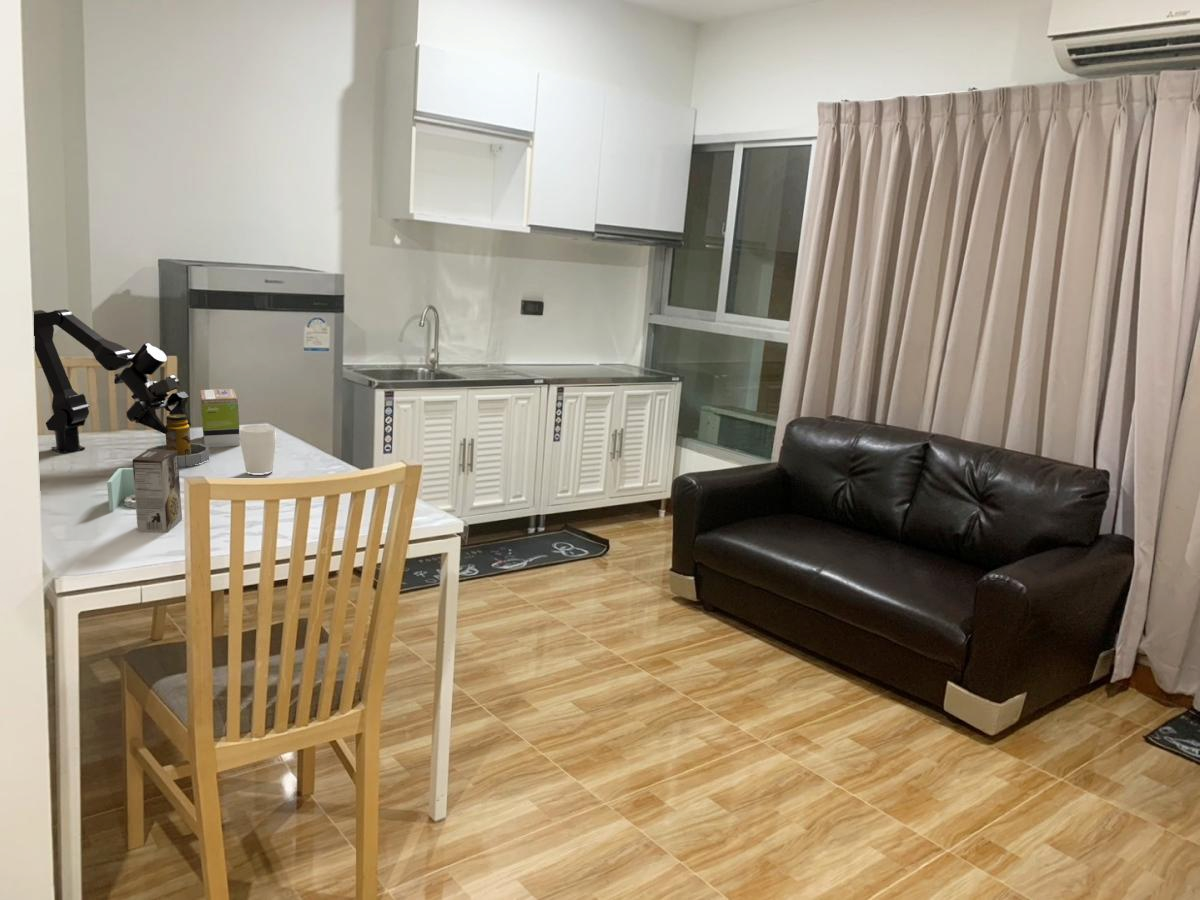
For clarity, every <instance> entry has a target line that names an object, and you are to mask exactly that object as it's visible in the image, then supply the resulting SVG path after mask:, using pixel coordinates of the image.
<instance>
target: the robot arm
mask: <svg viewBox="0 0 1200 900" xmlns="http://www.w3.org/2000/svg"><path fill="white" fill-rule="evenodd" d="M33 311H34V336H35V350H34V353H35V354H36V357H37V358H38V362H39V364H40V366H41V369H42V372H43V374H44V375H45V378H46V380H47V383H48V386H49V388H50V390H51V393H52V402H51V408H52V413H53V414H52V416H51V417H50V418H48V420H47V421H46V422H45V426H46V428H47V430H48V431H53V432H54V435H55V436H54V437H55V446H51V450H53V451H56V452H58V453H60V452H63V453H68V452H75V451H81V450H82V451H83V450H85V449H86V447H85V446H83V445H81V444H80V442H81V441H80V434H79V427H83V426H85V424H86V423H85V422H86V419H88V416H89V415H90V410H89V408H90V407H91V406H90V405H89V404H88V402H87V399H86V396H85V394H84V393H80V394H78V393H77V392H76V391H75V390H74V388H73V387H72V384H71V382H70V380H69V377H68V375H67V372H66V370H65V367H64V365H63V363H62V360H61V357H60V354H59V353H58V351H57V348H56V345H55V343H54V333H55V332H54V331H55V328H54V326H57V327H58V328H60V329H61V330H63V331H64V332H65V333H67V334H68V335H69V336H71V337H72V338H73V339H75V340H76V341H77V342H79V343H80V344H81V345H83V347H85V348H86V349H88V350H89V351H90V352H91V353H92V354H93V355H94V358H95V360H96V361H97V363H99V364H100V365H101V367H103V368H104V369H105V370H107V371H109V372H112V371H117V370H118V371H119V370H122V371H121V372H120V373H115V374H114V384H115V385H119V384H124V385H125V386H126V388H128V389H129V390H130V392H131V393H132V395H131V398H132V399H133V400H137V401H135V402H133V404H132V405H131V406H130V407H129V408H128V410H126V418H127V419H128V420H129V421H130V423H131V422H132V423H133V422H135V423H136V424H140V425H142V426H146V427H148V428H149V429H150V428H151V429H153V430H156V432H159V433H161V434H164V435H166V433H167V432H168V430H167V429H166V425H164V423H163V422H162V420H161V419H160V418H159V417H158V415H157V413H156V410H159V409H163V408H164V409H165V410H166V411H167V412H168V415H173V414H184V415H186V416H187V417H188V418H187V421H188V425H189V428H190V427H191V425H192V424H191V421H190V419H189V416H188V413H187V409H186V404H187V402H188V399H190V397H189V395H188V394H187V393H186V392H185V391H182V390H181V391H177V392H172V391H174V390H178V389H179V386H180V384H181V382H180V379H178V377H177V376H175V375H173V374H172V375H169V376H166V377H165V379H162V380H159V381H157V380H153V381H152V379H150V378H149V376H148V375H150V376H151V375H154V374H155V373H156V372H157V371H158V370H159V369H160V368H161V367H162V366H163V365H164V364H165V363H166V361H167V360H168V358H167V354H165V352H164V351H163V350H161V349H159V348H158V347H157V346H154V345H151V343H149V342H146V343H144V344H142V345H141V347H140V349H139V350H138V351H137V352H131V350H129V349H128V348H127V347H125V346H123V345H121V344H119V343H116V342H114V341H111V340H108V339H106V338H105V337H103V336H102V335H100V334H99V333H97V331H95V330H94V329H92V328H91V327H90V326H89V325H87V324H86V323H85V322H83V321H82V320H81V319H79V318H78V317H76V316H75V315H74V314H73V312H72V311H71V310H68V309H56V310H53V311H49V312H47V311H45V310H43V309H38V310H33ZM170 392H172V393H171V394H170ZM167 397H168V398H167Z"/></svg>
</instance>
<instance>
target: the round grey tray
mask: <svg viewBox="0 0 1200 900" xmlns="http://www.w3.org/2000/svg"><path fill="white" fill-rule="evenodd" d="M190 444H191V446H190V447H191V455H185V456H178V467H179V468H187V467H186V466H190V467H192V466H191V465H195V464H199V463H202V462H204V461H207V460H209V461H210V459H209V456H210V447H208V446H205V445H204V444H202V443H191V442H190ZM148 449H162V450H167V448H166V443H165V444H160V445H154V446H151V447H149V448H147V449H146V451H147V450H148Z"/></svg>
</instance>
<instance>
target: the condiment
mask: <svg viewBox="0 0 1200 900" xmlns="http://www.w3.org/2000/svg"><path fill="white" fill-rule="evenodd" d="M187 418H189V416H188V417H187V416H186V415H184V414H173V415H170V414H168V415H167V416H166V417H165V419H166V422H165V423H166V425H165V427H166V429H167V430H168V432H167V433H166V434H165V444H166V448H167V450H177V454H178V456H185V455H191V447H190V446H191V444H190V443H191V431H190V429H191V428H190V427H189V425H188V421H187Z"/></svg>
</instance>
